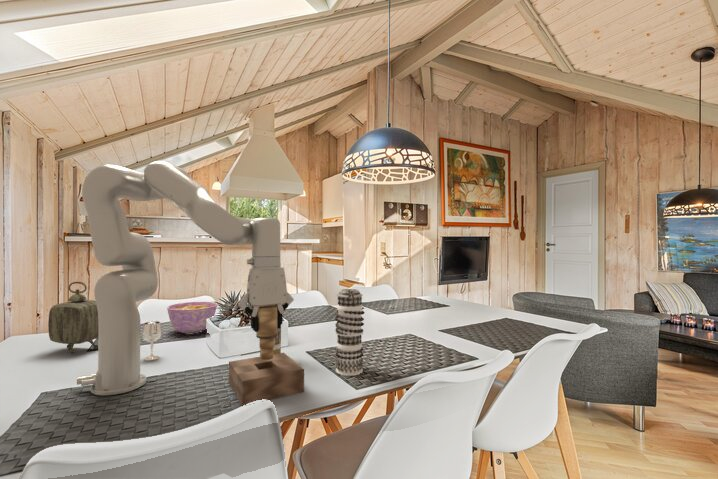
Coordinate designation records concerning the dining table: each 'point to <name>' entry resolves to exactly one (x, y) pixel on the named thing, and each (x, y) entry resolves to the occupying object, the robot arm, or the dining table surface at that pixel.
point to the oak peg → (267, 330)
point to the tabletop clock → (74, 320)
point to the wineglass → (151, 335)
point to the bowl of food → (191, 316)
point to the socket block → (265, 378)
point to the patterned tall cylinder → (349, 332)
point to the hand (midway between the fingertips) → (266, 328)
